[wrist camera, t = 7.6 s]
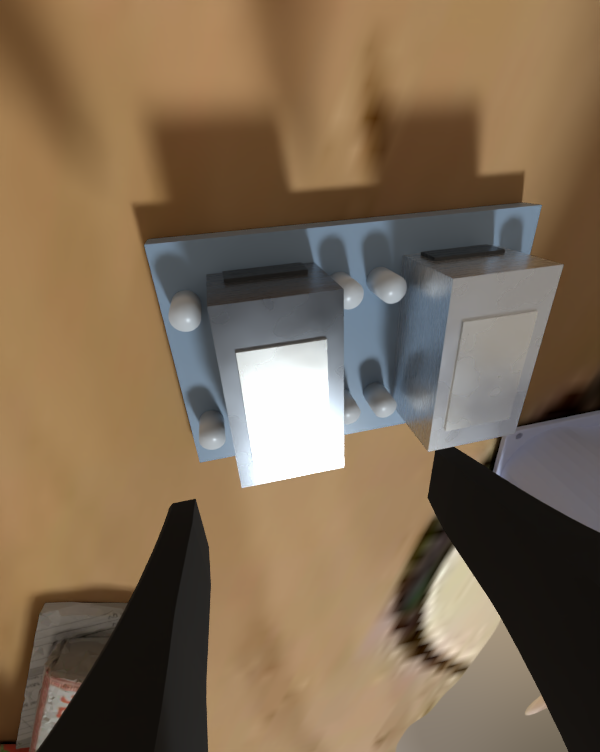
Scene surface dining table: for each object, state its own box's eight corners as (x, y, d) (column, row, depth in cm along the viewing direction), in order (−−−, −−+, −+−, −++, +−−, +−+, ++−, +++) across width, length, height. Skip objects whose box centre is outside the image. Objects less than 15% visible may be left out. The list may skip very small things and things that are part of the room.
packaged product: (139, 792, 31) (-8, 816, 27) (147, 718, 35) (20, 730, 31) (199, 671, 24) (12, 681, 20) (199, 596, 28) (45, 593, 24)
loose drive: (313, 258, 16) (344, 285, 12) (320, 415, 20) (344, 468, 17) (205, 270, 15) (206, 303, 12) (234, 430, 19) (241, 489, 16)
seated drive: (494, 241, 17) (567, 260, 14) (465, 390, 21) (516, 435, 18) (402, 251, 17) (455, 275, 13) (391, 404, 21) (429, 453, 17)
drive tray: (522, 202, 18) (569, 208, 16) (480, 395, 24) (510, 420, 21) (147, 239, 15) (138, 252, 13) (200, 447, 21) (199, 483, 19)
